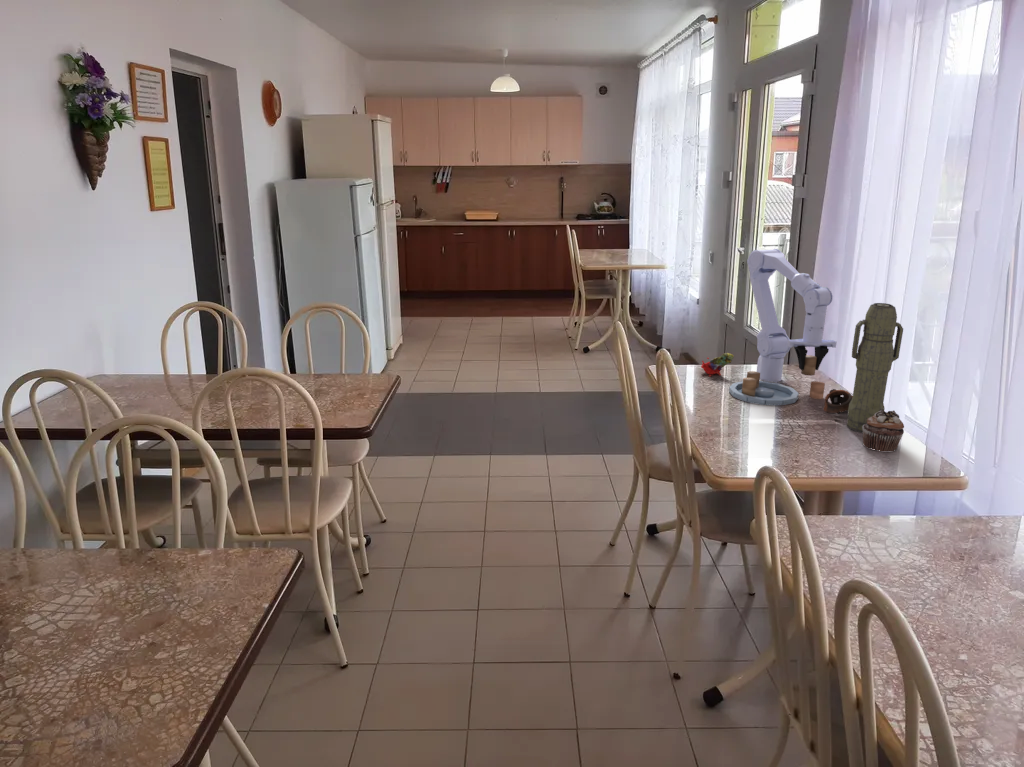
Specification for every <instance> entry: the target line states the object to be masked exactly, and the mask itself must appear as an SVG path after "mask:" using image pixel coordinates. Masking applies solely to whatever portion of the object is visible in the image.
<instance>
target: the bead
mask: <svg viewBox="0 0 1024 767" xmlns="http://www.w3.org/2000/svg"><path fill="white" fill-rule="evenodd" d="M742 381H743V385H742V393H743V394H746V395H748V396H752V397H755V390H756V382H757V380H756V379H754V378H747V377H743V379H742Z"/></svg>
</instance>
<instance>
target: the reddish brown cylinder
mask: <svg viewBox="0 0 1024 767" xmlns="http://www.w3.org/2000/svg"><path fill="white" fill-rule="evenodd" d="M825 385H826V384H825V382H823V381H811V382H810V387H809V394H808V396H809V398H811V399H813V400H823V399H824V395H825V394H824V393H825Z"/></svg>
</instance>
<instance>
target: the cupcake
mask: <svg viewBox="0 0 1024 767" xmlns="http://www.w3.org/2000/svg"><path fill="white" fill-rule="evenodd" d="M904 428H905V424H904V422H903V421H902V420H901V419H900V415H899V414H898V413H897V412H896V411H895V410H889V411H885V409H884V410H882V409H881V411H879V412H877V413H875V415H874V416H872V417H870V418H868V419H867V424H865V425H863V427H862V429H863V433H862V443H863V444H864V445H865V446H866V447H868V448H872V449H875V450H880V451H893V452H895V451H896V450H897V449H898V447H899V444H900V441H901V440H902V437H903V435H904V433H905V432H904V431H905V430H904ZM864 445H863V446H864ZM865 446H864V447H865ZM866 447H865V448H866ZM868 448H867V449H868ZM875 450H874V451H875ZM894 450H895V451H894Z"/></svg>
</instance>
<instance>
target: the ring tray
mask: <svg viewBox="0 0 1024 767" xmlns="http://www.w3.org/2000/svg"><path fill="white" fill-rule="evenodd" d="M742 385H743V380H742V381H737V382H733V383H732V384H731V385H730V386H729V389H728V393H729V394H730V395H731V396H732V397H733V398H735V399H738V400H740V401H743V402H746V403H751V404H756V405H762V406H785V405H786V406H787V405H791V404H795V403H796V402H797V400H798V399H799V395H800V394H799V391H797V390H796V389H794V388H793V387H791V386H788V385H784V384H781V383H777V382H769V381H764V380H760V381H759V387H758V388H756V390H755V397H752V396H748V395H746V394H743V393H742Z"/></svg>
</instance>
